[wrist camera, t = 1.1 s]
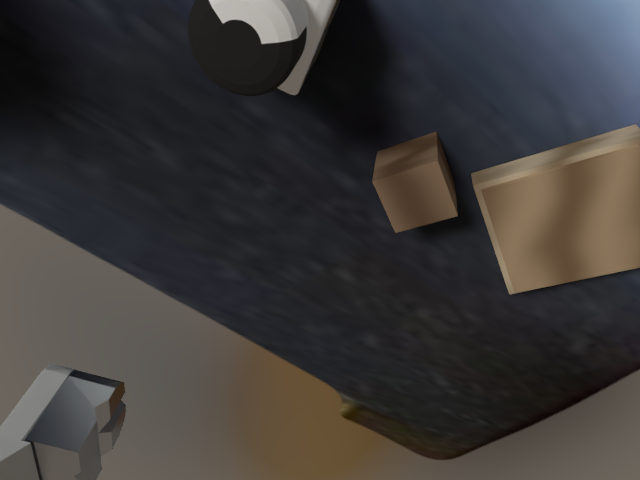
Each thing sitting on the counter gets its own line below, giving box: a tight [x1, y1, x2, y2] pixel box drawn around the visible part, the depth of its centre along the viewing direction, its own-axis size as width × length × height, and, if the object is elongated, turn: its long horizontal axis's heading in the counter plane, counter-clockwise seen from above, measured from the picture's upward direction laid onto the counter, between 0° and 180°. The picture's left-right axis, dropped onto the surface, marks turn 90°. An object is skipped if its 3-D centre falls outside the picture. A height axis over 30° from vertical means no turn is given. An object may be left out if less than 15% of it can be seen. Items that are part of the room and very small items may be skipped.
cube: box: [372, 132, 458, 233], centre depth 40 cm, size 5×5×5 cm
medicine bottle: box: [188, 0, 341, 96], centre depth 31 cm, size 7×7×12 cm
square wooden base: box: [471, 124, 640, 294], centre depth 41 cm, size 12×12×2 cm
